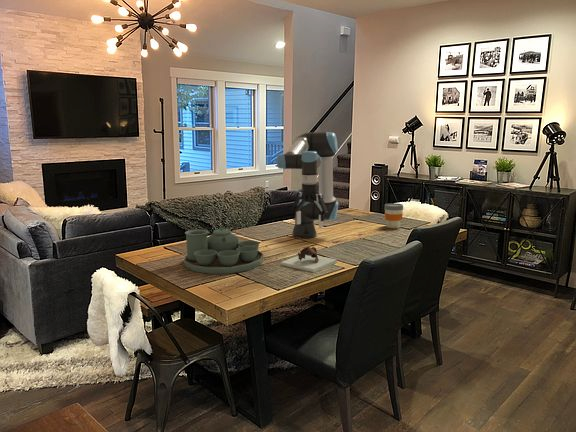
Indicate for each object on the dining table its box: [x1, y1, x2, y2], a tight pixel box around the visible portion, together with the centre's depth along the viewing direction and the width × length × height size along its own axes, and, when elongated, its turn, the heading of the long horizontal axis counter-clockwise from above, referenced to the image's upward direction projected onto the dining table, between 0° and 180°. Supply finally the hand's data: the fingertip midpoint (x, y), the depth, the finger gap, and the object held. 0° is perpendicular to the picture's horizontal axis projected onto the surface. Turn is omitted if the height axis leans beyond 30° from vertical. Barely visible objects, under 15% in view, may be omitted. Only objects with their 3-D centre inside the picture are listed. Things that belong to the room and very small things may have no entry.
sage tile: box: [280, 255, 338, 273], centre depth 231 cm, size 20×20×2 cm
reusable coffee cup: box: [383, 202, 404, 229], centre depth 313 cm, size 13×13×15 cm
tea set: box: [183, 227, 265, 275], centre depth 234 cm, size 40×40×16 cm
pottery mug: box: [297, 246, 319, 263], centre depth 231 cm, size 12×10×8 cm
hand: (309, 225), depth 230 cm, fingers open, 13 cm apart
